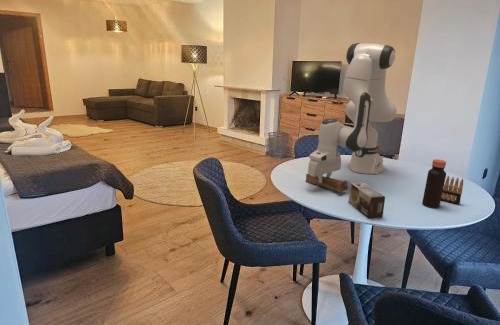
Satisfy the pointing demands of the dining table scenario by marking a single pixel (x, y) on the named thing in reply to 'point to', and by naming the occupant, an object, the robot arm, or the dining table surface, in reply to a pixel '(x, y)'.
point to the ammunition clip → (448, 191)
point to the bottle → (434, 184)
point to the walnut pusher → (328, 183)
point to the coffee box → (366, 200)
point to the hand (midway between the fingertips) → (323, 181)
